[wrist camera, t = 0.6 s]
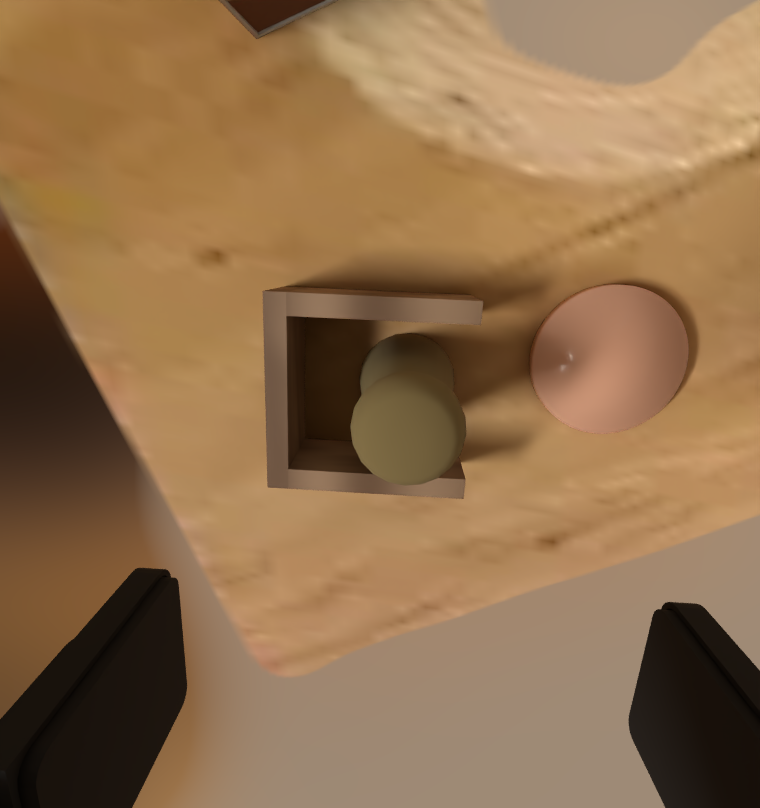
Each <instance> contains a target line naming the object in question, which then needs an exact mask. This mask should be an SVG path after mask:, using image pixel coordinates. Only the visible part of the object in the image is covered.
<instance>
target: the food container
mask: <svg viewBox="0 0 760 808" xmlns="http://www.w3.org/2000/svg"><path fill="white" fill-rule="evenodd" d="M219 1H220V2H221V3H222V4H223V5H224V6H225V7H226V8H227V9H228V10H229V11H230V12H231V13H232V14H233V15H234V16H235V17H236V18H237V20H238V21H239V22H240V23H241V24H242V25H243V26H244V27H245V28H246V29H247V30H248V31H249V32H250V33H251V34H252V35H253V36H254V37H255V38H256V39H257V38H259V37H261V36H264V35H266V34H268V33H270V32H272V31H274V30H276V29H278V28H281V27H283V26H285V25H287V24H289V23H291V22H293V21H295V20H297V19H300V18H302V17H304V16H306V15H308V14H310V13H312V12H314V11H317V10H319V9H321V8H323V7H325V6H327V5H329V4H331V3H333V2H336V1H338V0H219Z"/></svg>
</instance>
